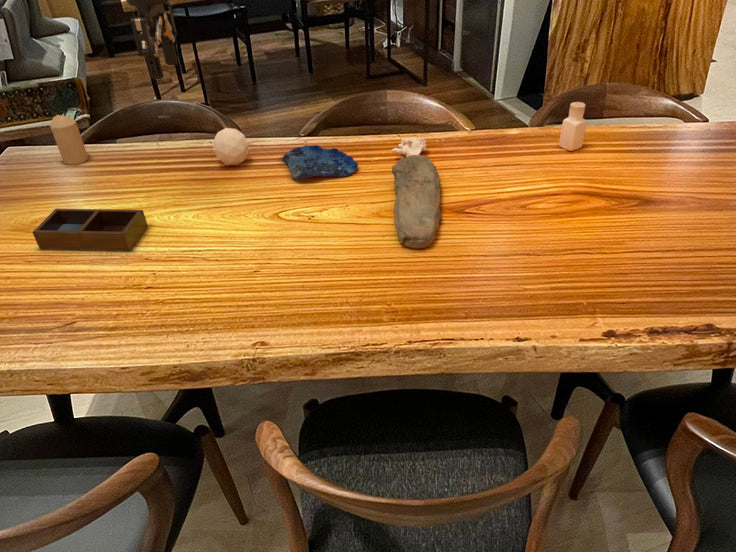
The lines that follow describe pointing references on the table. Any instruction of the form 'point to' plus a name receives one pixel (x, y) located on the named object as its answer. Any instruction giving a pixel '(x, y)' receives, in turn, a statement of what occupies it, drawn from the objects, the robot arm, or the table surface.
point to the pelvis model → (411, 146)
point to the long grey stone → (416, 200)
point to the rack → (91, 229)
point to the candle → (68, 140)
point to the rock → (318, 162)
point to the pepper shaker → (573, 127)
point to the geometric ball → (230, 146)
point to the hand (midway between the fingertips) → (165, 71)
